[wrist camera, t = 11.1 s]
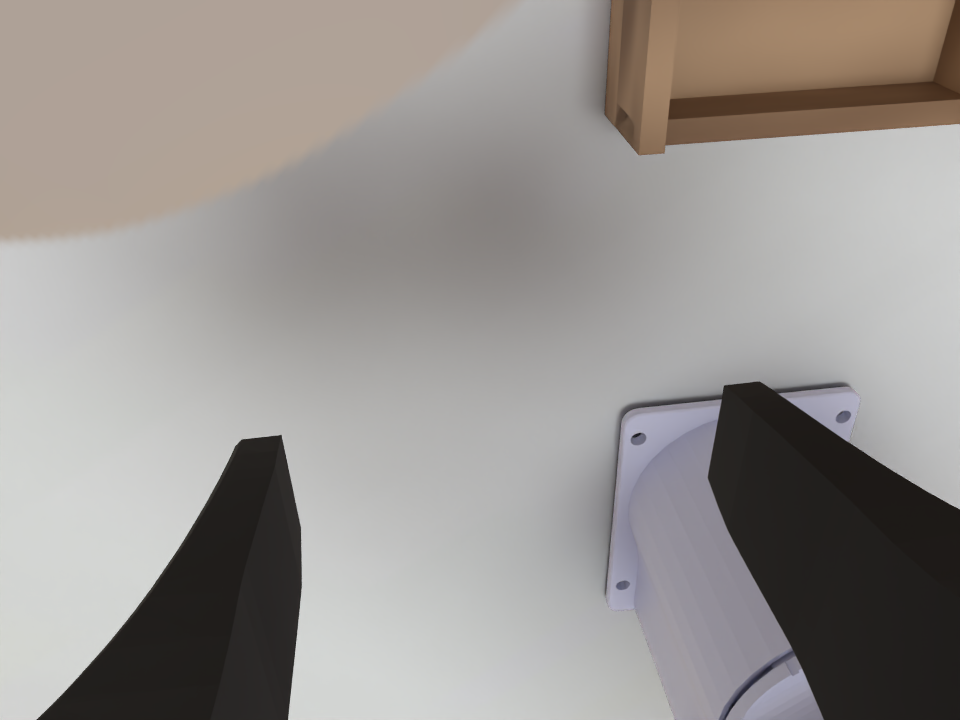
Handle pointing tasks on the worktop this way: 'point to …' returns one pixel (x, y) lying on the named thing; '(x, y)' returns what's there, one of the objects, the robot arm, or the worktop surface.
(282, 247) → the worktop surface
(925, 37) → the spice rack
